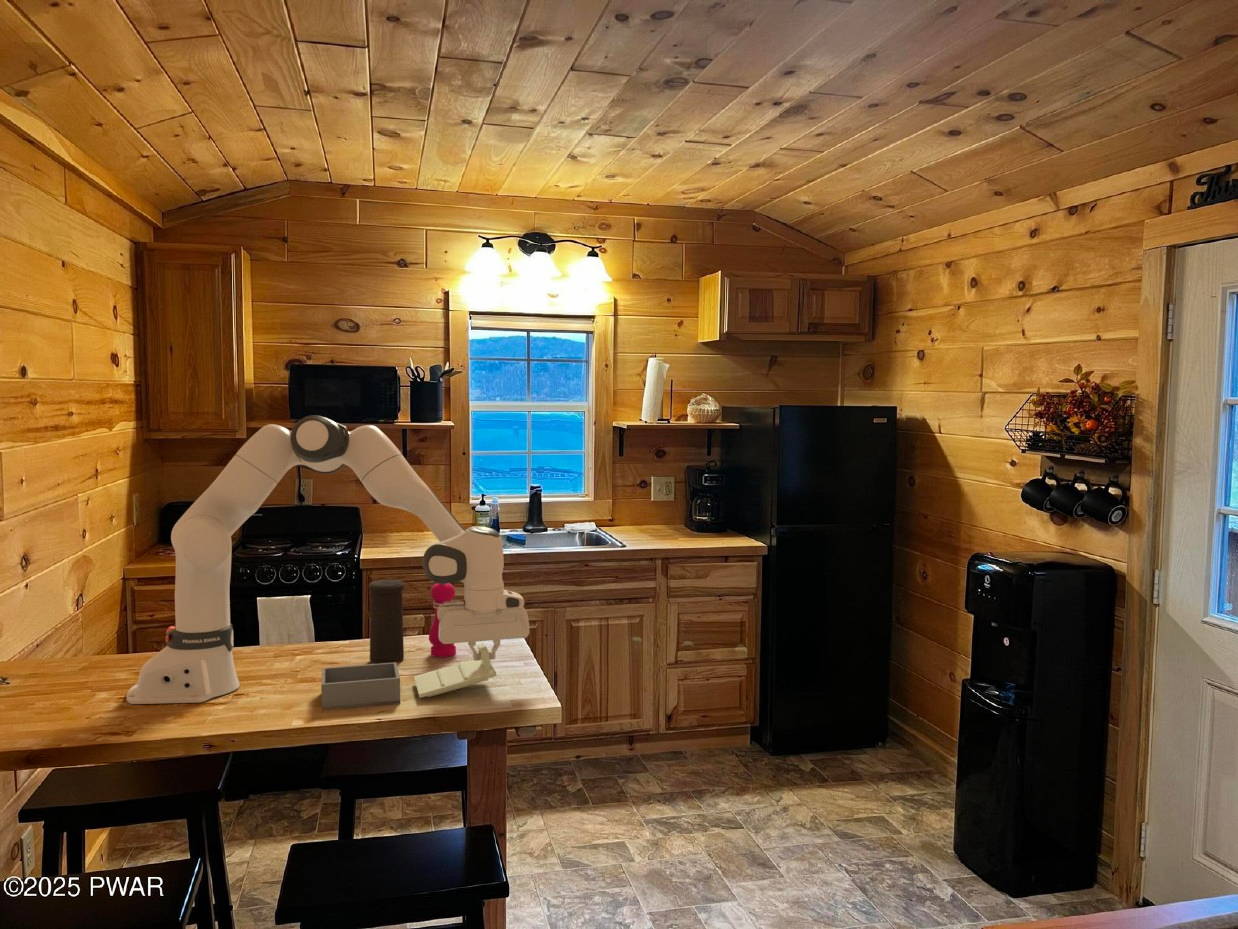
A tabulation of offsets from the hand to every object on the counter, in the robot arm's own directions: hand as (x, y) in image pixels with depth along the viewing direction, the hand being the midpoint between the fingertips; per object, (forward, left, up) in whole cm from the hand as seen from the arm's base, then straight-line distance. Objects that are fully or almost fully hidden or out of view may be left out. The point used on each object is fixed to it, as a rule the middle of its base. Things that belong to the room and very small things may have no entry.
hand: (484, 659), depth 209 cm
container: (-20, +27, -7) cm, 34 cm away
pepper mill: (-6, +29, -6) cm, 30 cm away
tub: (-27, 0, -6) cm, 28 cm away
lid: (-7, 0, -4) cm, 8 cm away
